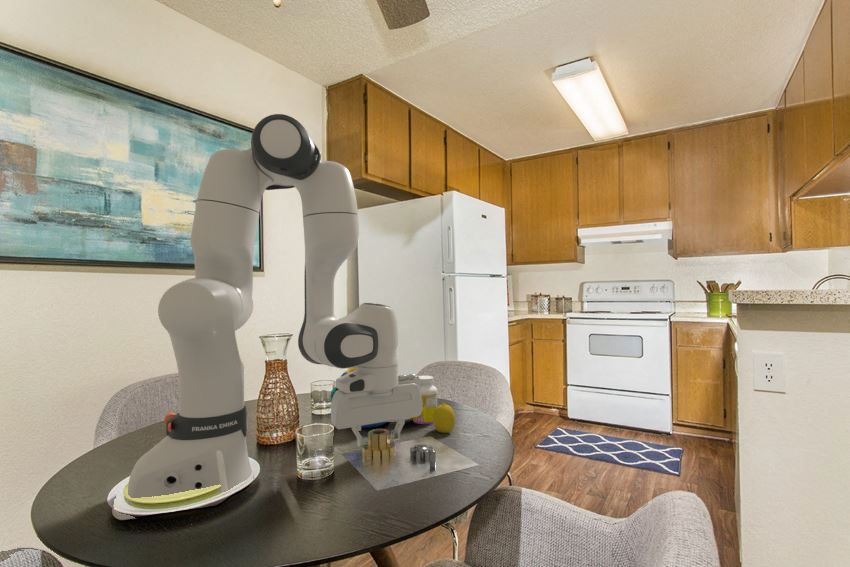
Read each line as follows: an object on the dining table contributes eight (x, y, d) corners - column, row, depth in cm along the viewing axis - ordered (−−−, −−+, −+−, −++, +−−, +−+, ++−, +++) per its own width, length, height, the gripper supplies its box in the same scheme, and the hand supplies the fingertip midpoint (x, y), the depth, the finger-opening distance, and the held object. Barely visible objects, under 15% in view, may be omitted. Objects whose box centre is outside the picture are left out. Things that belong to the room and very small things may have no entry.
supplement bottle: (408, 423, 118) (407, 376, 118) (429, 419, 121) (428, 373, 121) (420, 430, 112) (420, 380, 112) (442, 425, 115) (441, 377, 116)
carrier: (376, 497, 76) (376, 470, 76) (341, 459, 93) (341, 437, 93) (479, 470, 86) (479, 447, 86) (430, 441, 104) (430, 421, 104)
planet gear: (369, 462, 88) (369, 439, 88) (358, 451, 94) (357, 430, 94) (400, 455, 92) (400, 433, 92) (387, 445, 98) (387, 425, 98)
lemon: (455, 431, 110) (455, 400, 110) (455, 439, 105) (454, 406, 105) (434, 431, 111) (433, 400, 111) (432, 438, 105) (431, 406, 105)
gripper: (414, 370, 101) (415, 430, 101) (328, 380, 91) (328, 446, 91) (427, 375, 95) (428, 438, 95) (336, 386, 86) (337, 456, 85)
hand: (378, 442), depth 93 cm, fingers open, 6 cm apart
